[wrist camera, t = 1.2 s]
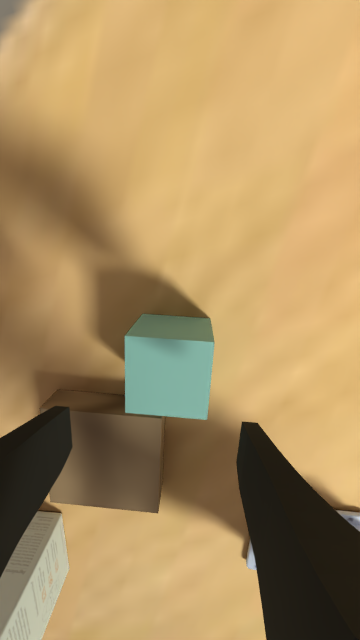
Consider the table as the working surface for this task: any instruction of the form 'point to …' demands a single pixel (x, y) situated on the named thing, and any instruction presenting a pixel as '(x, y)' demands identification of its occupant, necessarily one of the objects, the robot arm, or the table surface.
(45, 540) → the small box
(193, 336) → the teal block
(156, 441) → the walnut slab
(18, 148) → the table surface
